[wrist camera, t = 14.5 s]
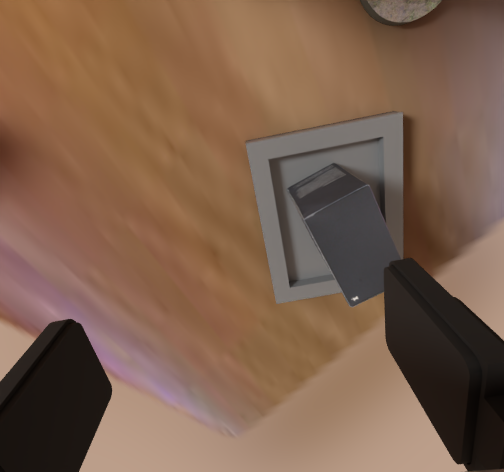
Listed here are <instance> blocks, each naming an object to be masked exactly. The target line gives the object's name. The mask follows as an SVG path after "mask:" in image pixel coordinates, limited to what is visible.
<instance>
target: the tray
mask: <svg viewBox="0 0 504 472" xmlns="http://www.w3.org/2000/svg"><path fill="white" fill-rule="evenodd" d="M246 148H247V153H248V158H249V163H250V168H251V174H252V179H253V184H254V189H255V195H256V200H257V205H258V210H259V215H260V221H261V226H262V231H263V236H264V241H265V247H266V252H267V257H268V262H269V268H270V273H271V278H272V283H273V288H274V294H275V299H276V304H279V303H284V302H290V301H296V300H301V299H307V298H313V297H318V296H324V295H330V294H335V293H341V290H340V288H339V286H338V284H337V282H336V281H335V279H334V277H333V275H332V273H331V271H330V270H329V268H328V266H327V264H326V263H325V261H324V259H323V257H322V255H321V254H320V252H319V250H318V248H317V247H316V246H315V243H314V241H313V240H312V238H311V236H310V234H309V232H308V230H307V228H306V226H305V224H304V223H303V221H302V219H301V217H300V215H299V213H298V211H297V209H296V207H295V205H294V204H293V202H292V200H291V198H290V196H289V194H288V192H287V188H289V187H290V186H292V185H294V184H296V183H297V182H299V181H301V180H303V179H305V178H307V177H308V176H310V175H312V174H314V173H316V172H318V171H319V170H321V169H323V168H325V167H327V166H329V165H330V164H332V163H336V164H337V165H339V166H340V167H342V168H343V169H345V170H346V171H348V172H349V173H351V174H352V175H354V176H355V177H357V178H359V179H360V180H362V181H363V182H365V183H366V184H368V185H370V187H371V190H372V192H373V194H374V197H375V199H376V202H377V204H378V206H379V209H380V211H381V213H382V216H383V218H384V220H385V223H386V225H387V227H388V230H389V232H390V234H391V236H392V239H393V241H394V243H395V246H396V248H397V250H398V252H399V255H400V257H401V259H403V112H396V111H392V112H387V113H382V114H377V115H372V116H367V117H363V118H358V119H353V120H348V121H343V122H338V123H333V124H328V125H323V126H318V127H313V128H308V129H303V130H298V131H293V132H288V133H283V134H278V135H273V136H268V137H263V138H258V139H253V140H248V141H246Z"/></svg>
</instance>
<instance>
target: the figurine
mask: <svg viewBox="0 0 504 472" xmlns="http://www.w3.org/2000/svg"><path fill="white" fill-rule="evenodd" d="M360 1H361V3H362V5H363V7H364V9H365V10H366V12H367V13H368V14H369V15H370V16H371V17H372V18H374V19H375V20H376V21H378V22H380V23H383V24H386V25H403V24H407V23H409V22H412V21H414V20H416V19H418V18H421V17H423V16H424V15H426V14H427V13H429V12H430V11H431V10H433V9H434V8H435V7H436V6H437V5H438V4H439V3H440V2H441V1H442V0H360Z"/></svg>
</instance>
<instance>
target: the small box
mask: <svg viewBox="0 0 504 472" xmlns="http://www.w3.org/2000/svg"><path fill="white" fill-rule="evenodd" d="M287 192H288V194H289V196H290V198H291V200H292V202H293V204H294V205H295V207H296V209H297V211H298V213H299V215H300V217H301V219H302V221H303V223H304V224H305V226H306V228H307V230H308V232H309V234H310V236H311V238H312V240H313V241H314V243H315V246H316V247H317V248H318V250H319V252H320V254H321V255H322V257H323V259H324V261H325V263H326V264H327V266H328V268H329V270H330V271H331V273H332V275H333V277H334V279H335V281H336V282H337V284H338V286H339V288H340V290H341V292H342V293H343V295H344V297H345V299H346V301H347V303H348V304H349V306H350V307H354V306H356V305H358V304H360V303H362V302H364V301H366V300H368V299H370V298H373V297H374V296H377V295H379V294H381V293H383V292H384V268H385V267H389V263H390V262H391V261H395V260H401V257H400V255H399V252H398V250H397V248H396V246H395V243H394V241H393V239H392V236H391V234H390V232H389V230H388V227H387V225H386V223H385V220H384V218H383V216H382V213H381V211H380V209H379V206H378V204H377V202H376V199H375V197H374V194H373V192H372V190H371V187H370V185H368V184H366V183H365V182H363V181H362V180H360V179H359V178H357V177H355V176H354V175H352V174H351V173H349V172H348V171H346V170H345V169H343V168H342V167H340V166H339V165H337V164H336V163H332V164H330V165H329V166H327V167H325V168H323V169H321V170H319V171H318V172H316V173H314V174H312V175H310V176H308V177H307V178H305V179H303V180H301V181H299V182H297V183H296V184H294V185H292V186H290V187H289V188H287Z"/></svg>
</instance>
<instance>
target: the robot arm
mask: <svg viewBox="0 0 504 472" xmlns="http://www.w3.org/2000/svg"><path fill="white" fill-rule="evenodd" d="M384 302H385V333H386V342H387V346H388V349H389V351H390V353H391V354H392V356H393V358H394V359H395V361H396V363H397V365H398V366H399V368H400V369H401V371H402V373H403V375H404V377H405V378H406V380H407V382H408V383H409V385H410V386H411V388H412V390H413V392H414V394H415V395H416V397H417V398H418V400H419V402H420V404H421V406H422V407H423V409H424V411H425V412H426V414H427V416H428V417H429V419H430V421H431V423H432V424H433V426H434V428H435V429H436V431H437V433H438V435H439V436H440V438H441V440H442V442H443V443H444V445H445V447H446V448H447V450H448V452H449V454H450V455H451V457H452V458H453V460H454V461H455V462H456V463H457V464H464V466H465V467H466V469H467V471H468V472H504V341H503V340H502V339H501V338H500V337H499V336H498V335H497V334H496V333H495V332H494V331H493V330H492V329H490V327H488V326H487V325H486V324H485V323H484V322H483V321H482V320H481V319H480V318H479V317H478V316H476V314H474V313H473V312H472V311H471V310H470V309H469V308H468V307H467V306H466V305H465V304H464V303H463V302H462V301H460V300H459V299H457V298H456V297H453V296H451V295H450V294H449V293H448V292H447V291H446V290H445V289H444V288H443V287H442V286H441V285H440V284H439V283H438V282H437V281H436V280H435V279H433V278H432V277H431V276H430V275H429V274H428V273H427V272H426V271H425V270H424V269H423V268H422V267H421V266H420V265H419V264H418V263H417V262H415V261H414V260H413V259H412V258H406V259H401V260H395V261H391V262H390V263H389V267H385V268H384ZM111 395H112V386H111V383H110V381H109V379H108V377H107V375H106V373H105V371H104V369H103V367H102V365H101V363H100V361H99V359H98V357H97V355H96V353H95V351H94V349H93V347H92V345H91V343H90V341H89V339H88V337H87V335H86V333H85V331H84V329H83V327H82V325H81V324H80V323H76V321H74V320H73V319H67V320H62V321H56V322H52V323H50V324H49V325H48V326H47V327H46V328H45V329H44V331H43V332H42V333H41V334H40V335H39V337H38V338H37V339H36V340H35V341H34V343H33V344H32V345H31V346H30V347H29V349H28V350H27V351H26V352H25V353H24V354H23V356H22V357H21V358H20V359H19V360H18V362H17V363H16V364H15V365H14V366H13V368H12V369H11V370H10V371H9V372H8V373H7V374H6V376H5V377H4V378H3V379H2V380H1V382H0V472H79V470H80V468H81V465H82V463H83V461H84V459H85V456H86V454H87V452H88V449H89V447H90V444H91V442H92V440H93V438H94V435H95V433H96V431H97V428H98V426H99V424H100V421H101V419H102V417H103V415H104V412H105V410H106V408H107V405H108V403H109V401H110V398H111Z"/></svg>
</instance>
